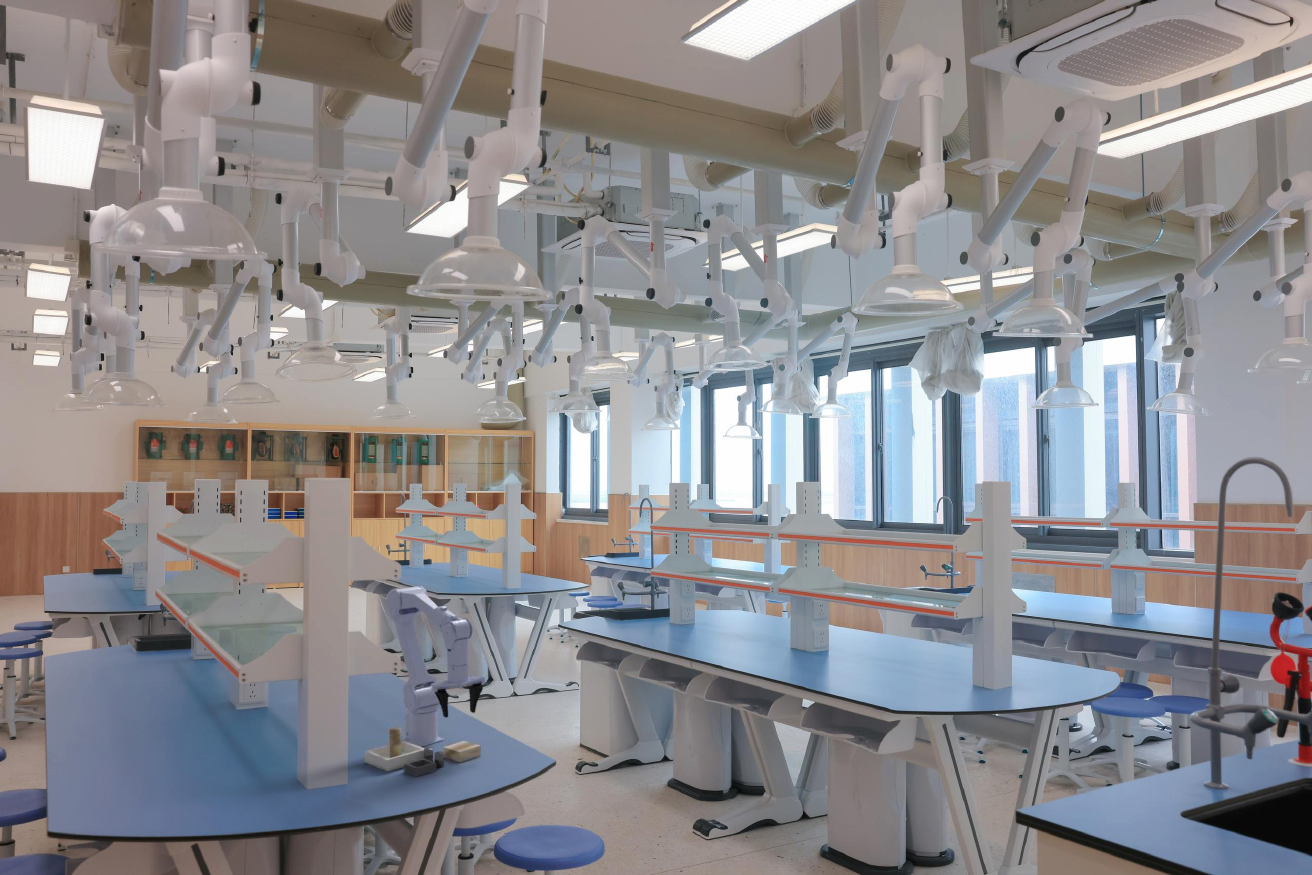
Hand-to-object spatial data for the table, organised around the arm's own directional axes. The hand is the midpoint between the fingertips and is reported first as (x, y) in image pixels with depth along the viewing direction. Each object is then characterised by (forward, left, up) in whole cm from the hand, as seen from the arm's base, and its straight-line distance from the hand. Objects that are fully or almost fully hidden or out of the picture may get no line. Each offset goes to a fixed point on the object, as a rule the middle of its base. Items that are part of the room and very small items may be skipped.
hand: (459, 714), depth 258 cm
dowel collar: (+5, -16, -10) cm, 19 cm away
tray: (-7, -16, -10) cm, 20 cm away
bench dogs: (+3, -10, -10) cm, 15 cm away
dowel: (-7, -16, -10) cm, 20 cm away
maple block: (+3, -2, -11) cm, 11 cm away
